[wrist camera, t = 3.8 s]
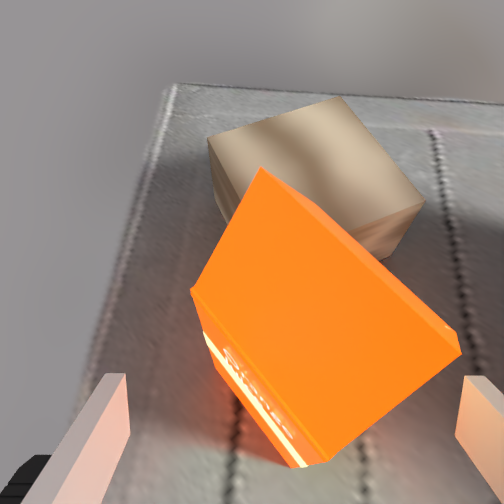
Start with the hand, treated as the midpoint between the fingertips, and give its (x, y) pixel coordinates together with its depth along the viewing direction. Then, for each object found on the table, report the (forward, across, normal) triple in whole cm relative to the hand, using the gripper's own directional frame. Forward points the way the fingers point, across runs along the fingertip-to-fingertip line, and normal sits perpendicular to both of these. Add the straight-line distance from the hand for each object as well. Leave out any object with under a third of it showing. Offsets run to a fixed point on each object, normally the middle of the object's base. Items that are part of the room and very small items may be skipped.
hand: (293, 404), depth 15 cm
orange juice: (+13, +1, -7) cm, 15 cm away
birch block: (+22, +3, +3) cm, 23 cm away
